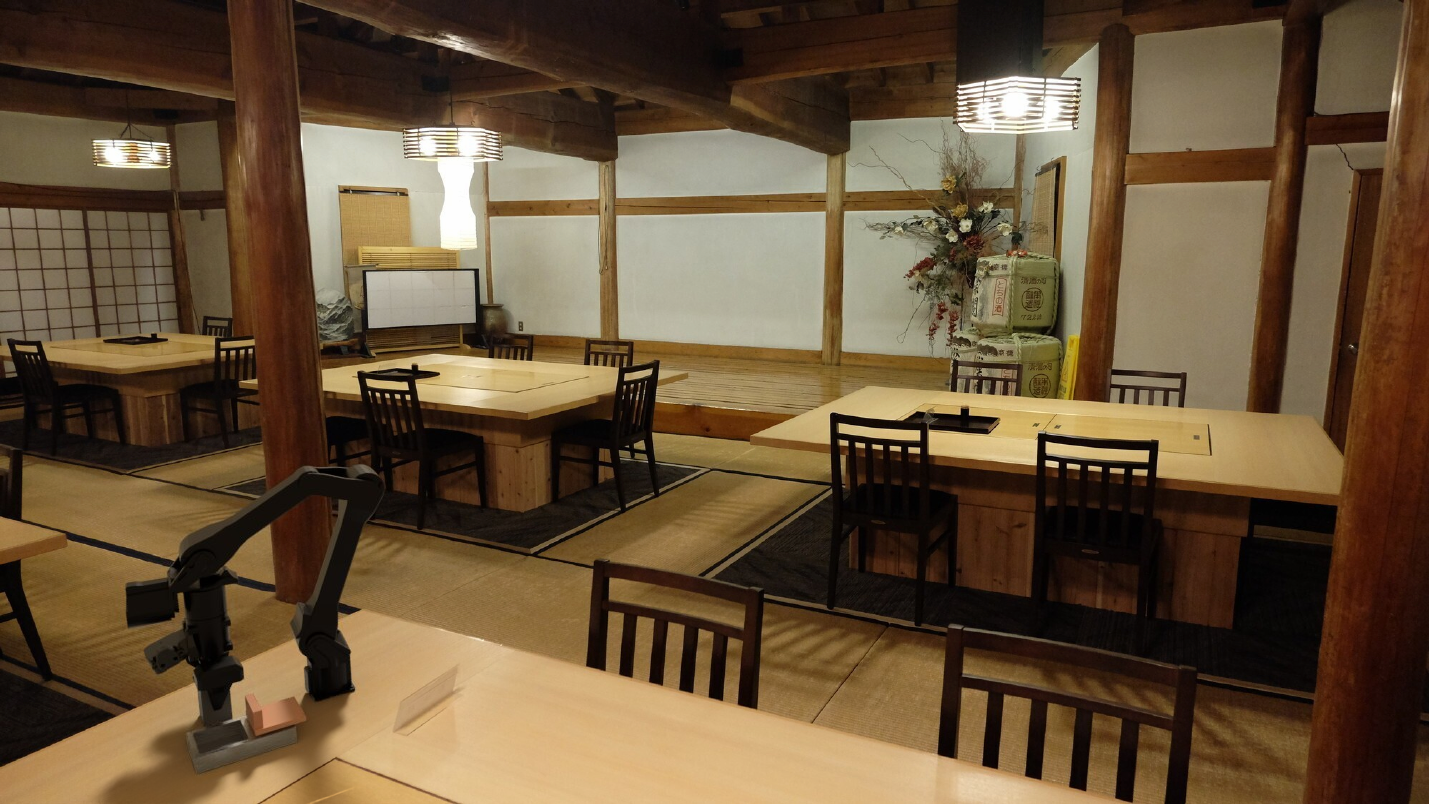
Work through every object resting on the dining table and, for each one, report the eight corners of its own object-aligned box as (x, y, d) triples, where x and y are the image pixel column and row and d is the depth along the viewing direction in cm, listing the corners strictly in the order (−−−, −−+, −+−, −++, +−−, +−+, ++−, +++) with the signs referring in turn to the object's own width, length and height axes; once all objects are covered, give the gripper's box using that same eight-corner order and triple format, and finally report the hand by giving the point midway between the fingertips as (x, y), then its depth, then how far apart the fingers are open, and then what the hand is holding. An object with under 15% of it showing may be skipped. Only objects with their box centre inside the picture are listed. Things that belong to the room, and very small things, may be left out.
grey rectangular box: (284, 718, 138) (283, 704, 138) (297, 742, 132) (296, 727, 132) (187, 747, 130) (186, 732, 129) (196, 774, 124) (195, 758, 123)
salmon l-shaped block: (294, 700, 138) (293, 680, 138) (306, 720, 133) (304, 699, 132) (245, 715, 134) (244, 694, 133) (255, 736, 129) (253, 714, 128)
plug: (227, 707, 141) (223, 662, 139) (232, 718, 138) (228, 672, 136) (199, 715, 139) (195, 669, 137) (204, 726, 136) (199, 679, 134)
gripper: (138, 604, 137) (148, 694, 140) (153, 650, 123) (163, 749, 126) (217, 588, 144) (225, 674, 147) (240, 629, 130) (248, 723, 133)
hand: (215, 703), depth 138 cm, fingers closed on plug, 4 cm apart
